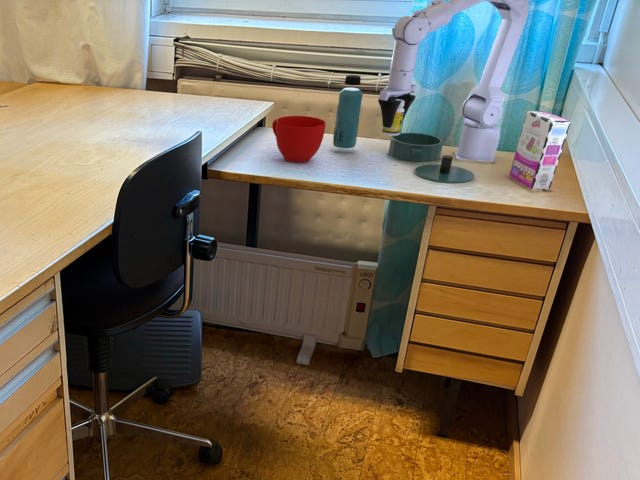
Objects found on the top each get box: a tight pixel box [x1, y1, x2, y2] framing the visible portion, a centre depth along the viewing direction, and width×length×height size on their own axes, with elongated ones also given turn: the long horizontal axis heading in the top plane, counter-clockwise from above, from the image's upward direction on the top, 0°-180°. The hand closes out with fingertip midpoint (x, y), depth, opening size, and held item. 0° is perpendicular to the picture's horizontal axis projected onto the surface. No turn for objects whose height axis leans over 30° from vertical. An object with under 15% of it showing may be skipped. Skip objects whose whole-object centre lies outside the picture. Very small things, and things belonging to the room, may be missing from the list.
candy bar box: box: [508, 110, 572, 192], centre depth 169 cm, size 11×5×16 cm, turn 5°
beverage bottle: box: [332, 74, 364, 149], centre depth 193 cm, size 6×7×20 cm
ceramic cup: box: [271, 115, 327, 164], centre depth 189 cm, size 13×17×10 cm
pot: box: [387, 132, 444, 163], centre depth 192 cm, size 13×19×5 cm
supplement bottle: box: [381, 99, 405, 136], centre depth 182 cm, size 5×5×8 cm
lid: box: [414, 155, 475, 184], centre depth 177 cm, size 14×14×5 cm
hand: (392, 125), depth 184 cm, fingers closed on supplement bottle, 5 cm apart
